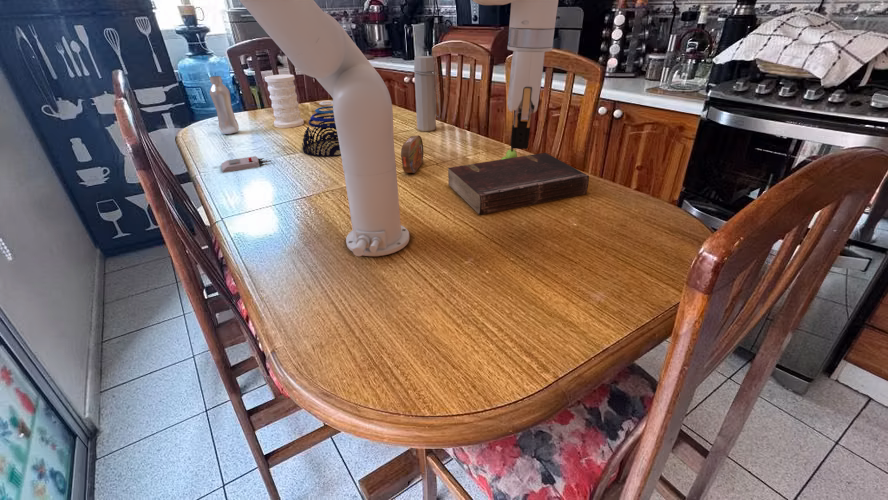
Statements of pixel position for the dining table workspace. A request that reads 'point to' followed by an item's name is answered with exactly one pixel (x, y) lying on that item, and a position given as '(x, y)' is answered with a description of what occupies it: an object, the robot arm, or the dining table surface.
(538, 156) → the hardback book
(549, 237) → the dining table surface
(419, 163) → the tin
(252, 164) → the moisture meter
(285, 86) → the decorative container
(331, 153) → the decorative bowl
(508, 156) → the grapes
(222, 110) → the plastic bottle
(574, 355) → the dining table surface
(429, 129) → the water bottle
